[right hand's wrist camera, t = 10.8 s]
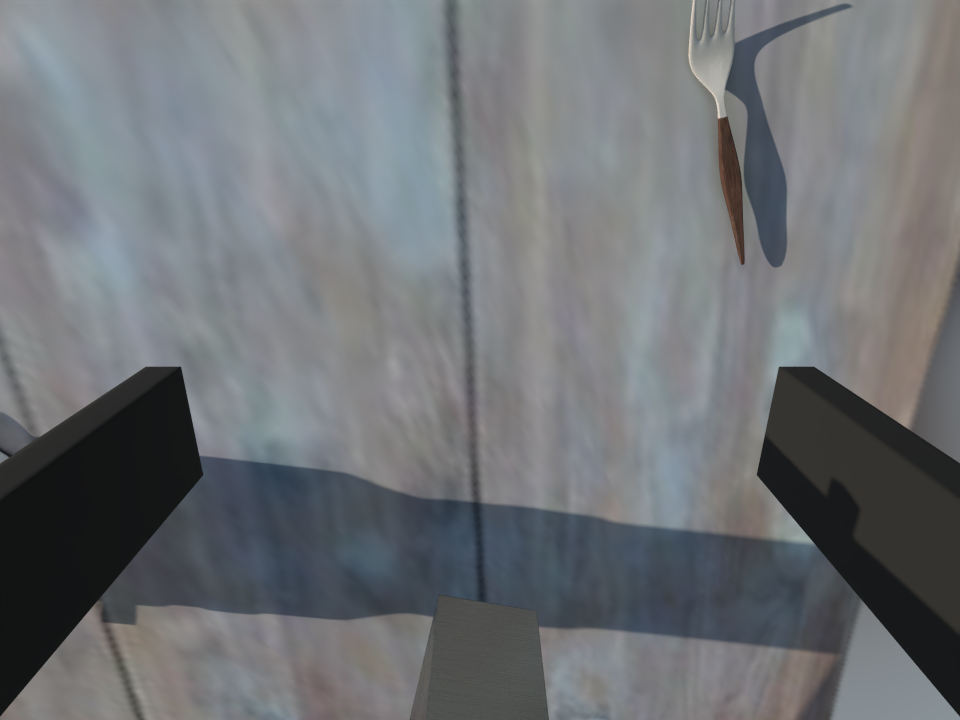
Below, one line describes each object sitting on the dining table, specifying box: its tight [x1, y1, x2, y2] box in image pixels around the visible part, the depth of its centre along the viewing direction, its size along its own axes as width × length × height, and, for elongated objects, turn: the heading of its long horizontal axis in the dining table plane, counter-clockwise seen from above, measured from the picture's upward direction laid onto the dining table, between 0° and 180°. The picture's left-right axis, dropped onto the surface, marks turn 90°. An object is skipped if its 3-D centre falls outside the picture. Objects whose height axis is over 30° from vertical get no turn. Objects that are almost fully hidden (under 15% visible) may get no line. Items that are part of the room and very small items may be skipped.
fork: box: [689, 0, 744, 265], centre depth 33 cm, size 3×16×2 cm, turn 17°
